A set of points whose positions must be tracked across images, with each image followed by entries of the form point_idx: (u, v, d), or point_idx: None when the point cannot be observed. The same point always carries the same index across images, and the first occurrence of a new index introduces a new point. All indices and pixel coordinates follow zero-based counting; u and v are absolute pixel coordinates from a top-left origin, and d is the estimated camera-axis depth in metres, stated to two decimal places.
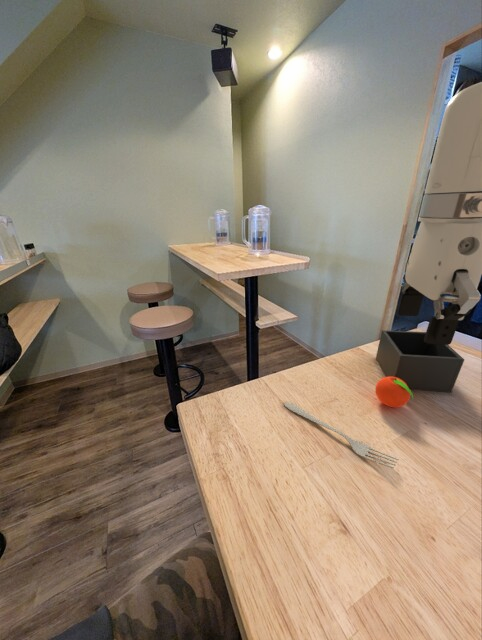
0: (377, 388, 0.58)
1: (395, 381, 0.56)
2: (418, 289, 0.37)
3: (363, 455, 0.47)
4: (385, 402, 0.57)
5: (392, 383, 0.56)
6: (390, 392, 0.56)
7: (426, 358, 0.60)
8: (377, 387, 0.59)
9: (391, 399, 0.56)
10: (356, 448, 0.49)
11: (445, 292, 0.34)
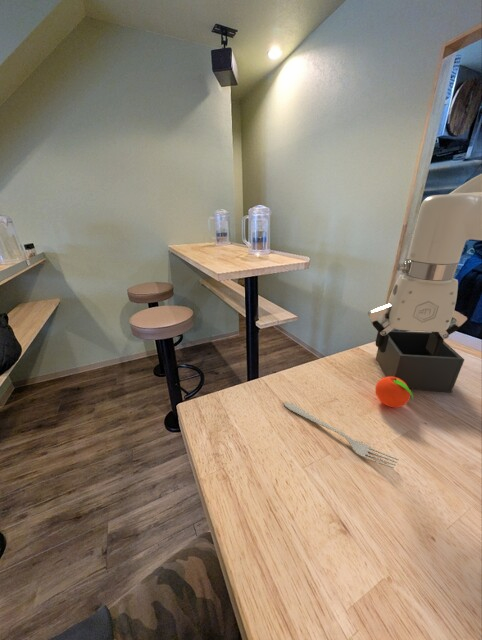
0: (377, 388, 0.58)
1: (395, 381, 0.56)
2: None
3: (363, 455, 0.47)
4: (385, 402, 0.57)
5: (392, 383, 0.56)
6: (390, 392, 0.56)
7: (426, 358, 0.60)
8: (377, 387, 0.59)
9: (391, 399, 0.56)
10: (356, 448, 0.49)
11: None
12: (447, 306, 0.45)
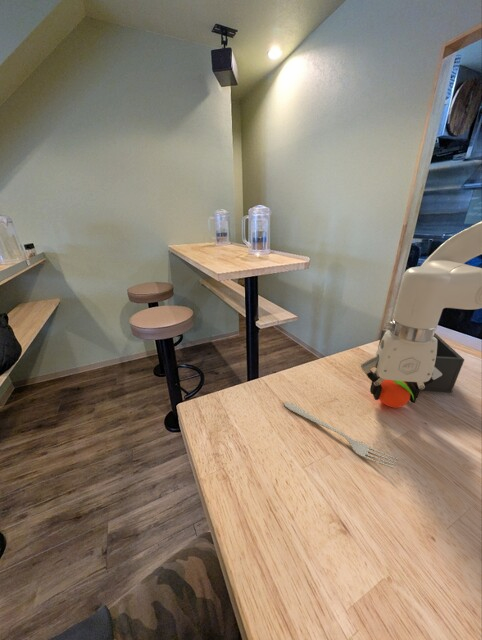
0: None
1: (396, 381, 0.56)
2: None
3: (363, 455, 0.47)
4: (386, 402, 0.57)
5: (393, 383, 0.56)
6: (391, 392, 0.56)
7: None
8: None
9: (391, 399, 0.56)
10: (356, 448, 0.49)
11: None
12: (428, 362, 0.50)
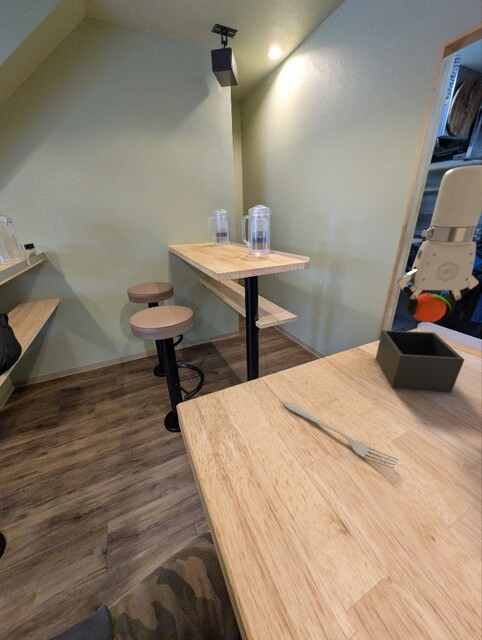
0: None
1: (431, 295, 0.58)
2: None
3: (363, 455, 0.47)
4: (422, 316, 0.58)
5: (429, 296, 0.58)
6: (427, 304, 0.57)
7: (426, 358, 0.60)
8: None
9: (428, 311, 0.57)
10: (356, 448, 0.49)
11: None
12: (466, 266, 0.52)
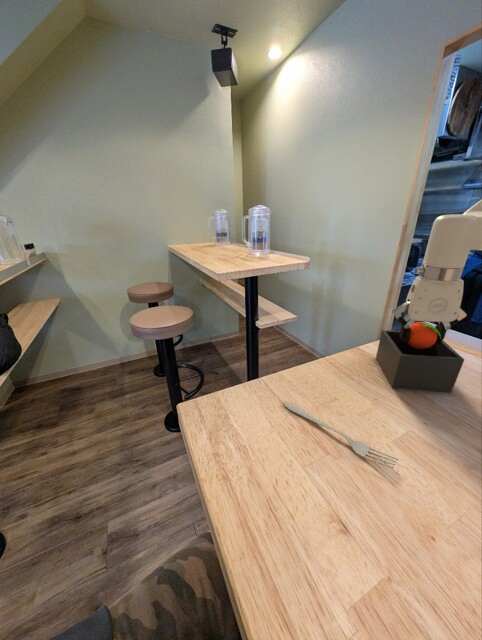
0: None
1: (423, 324, 0.63)
2: None
3: (363, 455, 0.47)
4: (414, 344, 0.63)
5: (421, 326, 0.63)
6: (420, 333, 0.62)
7: (426, 358, 0.60)
8: None
9: (420, 340, 0.62)
10: (356, 448, 0.49)
11: None
12: (455, 301, 0.57)
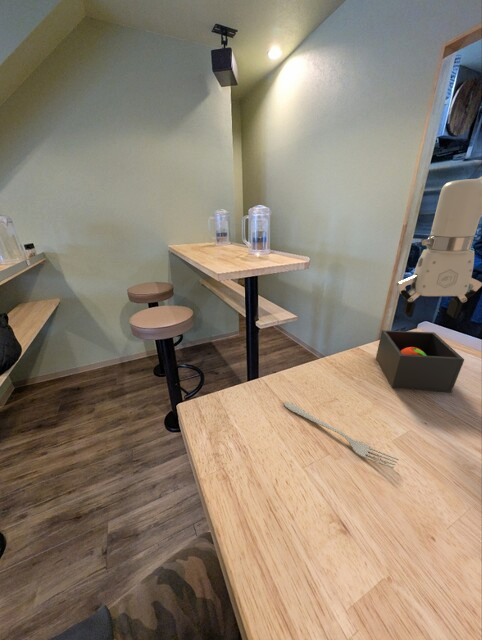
0: None
1: (415, 350, 0.66)
2: None
3: (363, 455, 0.47)
4: None
5: (412, 351, 0.66)
6: None
7: (426, 358, 0.60)
8: None
9: None
10: (356, 448, 0.49)
11: None
12: (465, 273, 0.54)
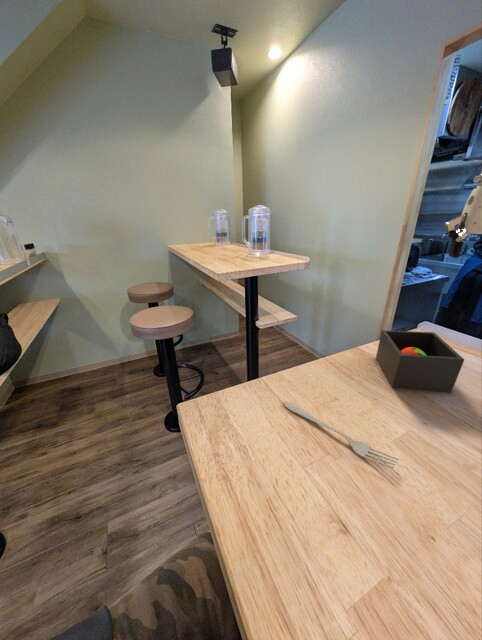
0: None
1: (415, 350, 0.66)
2: None
3: (363, 455, 0.47)
4: None
5: (412, 351, 0.66)
6: None
7: (426, 358, 0.60)
8: None
9: None
10: (356, 448, 0.49)
11: None
12: None
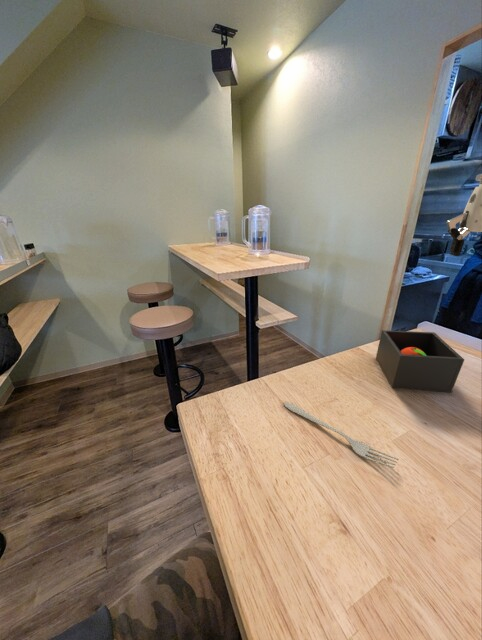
0: None
1: (415, 350, 0.66)
2: None
3: (363, 455, 0.47)
4: None
5: (412, 351, 0.66)
6: None
7: (426, 358, 0.60)
8: None
9: None
10: (356, 448, 0.49)
11: None
12: None
